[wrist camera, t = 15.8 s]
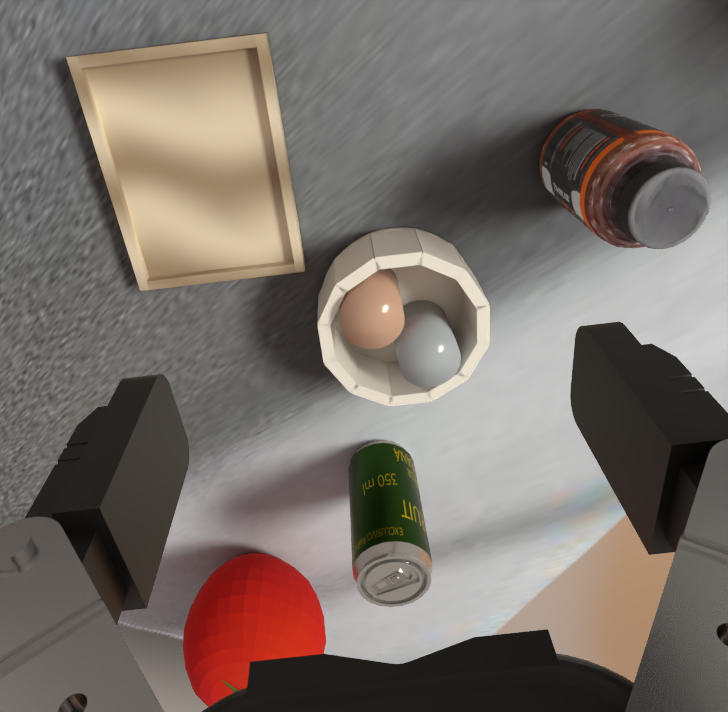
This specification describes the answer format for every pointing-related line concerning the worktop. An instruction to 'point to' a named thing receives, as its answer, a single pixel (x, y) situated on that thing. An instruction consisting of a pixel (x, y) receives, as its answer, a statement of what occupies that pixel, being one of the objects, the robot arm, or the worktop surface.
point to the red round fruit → (249, 623)
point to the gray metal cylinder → (427, 345)
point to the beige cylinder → (373, 311)
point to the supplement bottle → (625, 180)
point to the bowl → (416, 282)
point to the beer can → (387, 526)
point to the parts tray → (194, 159)
